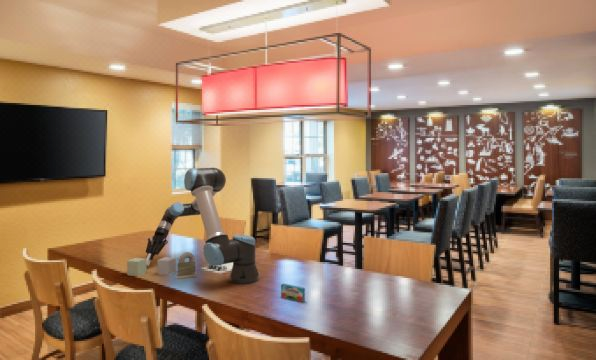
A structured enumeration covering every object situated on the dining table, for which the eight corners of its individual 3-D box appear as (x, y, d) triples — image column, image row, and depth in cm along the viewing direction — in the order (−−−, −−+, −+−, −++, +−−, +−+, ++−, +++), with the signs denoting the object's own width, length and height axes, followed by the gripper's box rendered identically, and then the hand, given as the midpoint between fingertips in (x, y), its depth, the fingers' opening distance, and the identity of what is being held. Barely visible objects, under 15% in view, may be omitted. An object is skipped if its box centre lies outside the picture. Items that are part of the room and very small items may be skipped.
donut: (180, 271, 229) (180, 254, 229) (177, 270, 232) (177, 253, 231) (196, 268, 236) (196, 251, 236) (193, 267, 239) (193, 250, 238)
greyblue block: (176, 271, 229) (176, 257, 229) (168, 275, 223) (168, 261, 222) (165, 270, 231) (165, 256, 231) (157, 274, 225) (157, 260, 224)
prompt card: (196, 276, 220) (196, 262, 219) (177, 278, 216) (176, 264, 216) (195, 274, 223) (195, 260, 223) (176, 276, 220) (176, 262, 220)
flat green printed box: (304, 301, 183) (304, 287, 183) (302, 302, 182) (302, 288, 182) (282, 296, 190) (282, 283, 189) (281, 297, 188) (280, 284, 188)
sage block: (146, 272, 228) (146, 258, 227) (138, 276, 221) (137, 261, 221) (136, 271, 230) (135, 257, 229) (127, 275, 223) (127, 260, 223)
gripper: (175, 234, 249) (159, 268, 234) (156, 233, 252) (139, 266, 238) (169, 227, 243) (153, 261, 228) (151, 225, 247) (133, 260, 232)
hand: (146, 264), depth 233 cm, fingers closed
